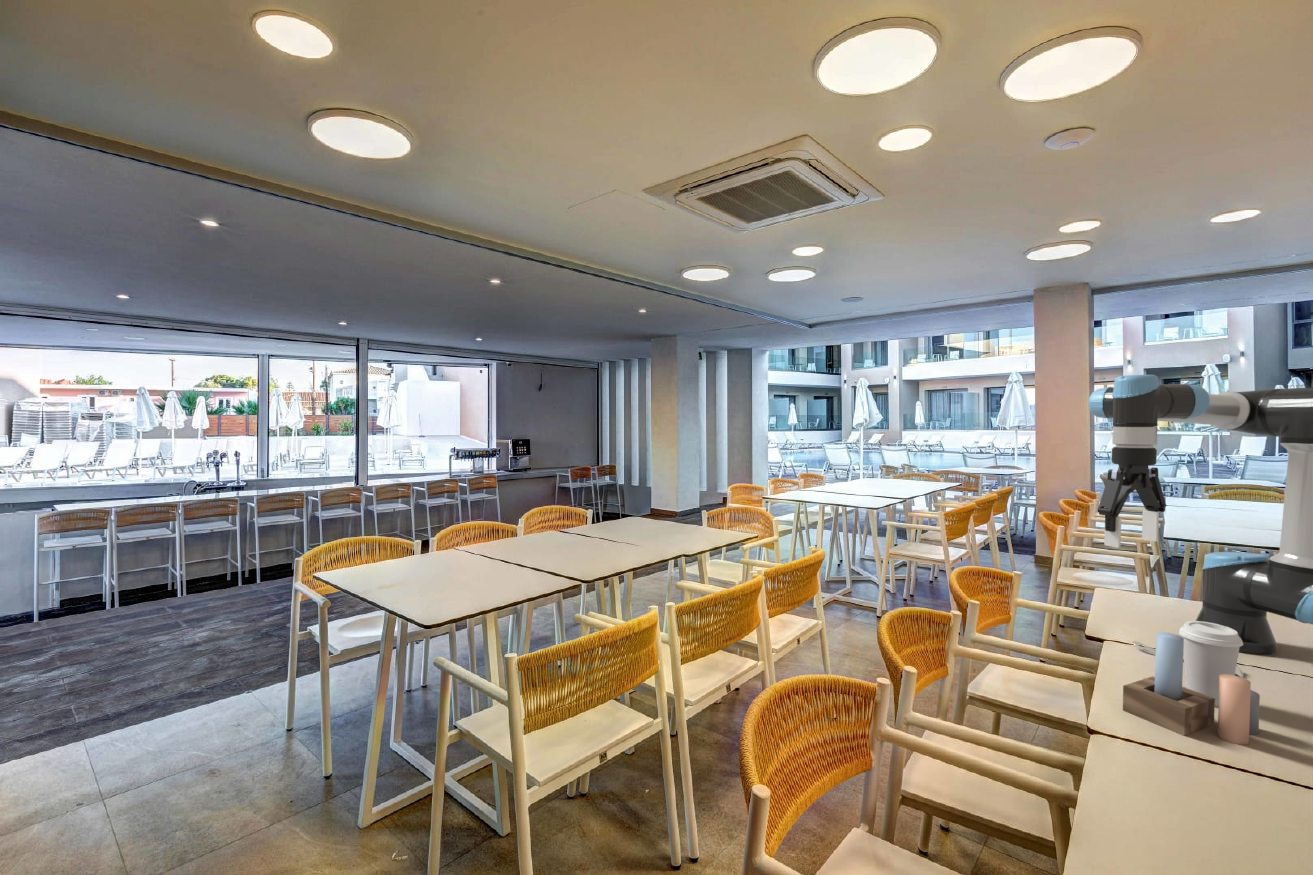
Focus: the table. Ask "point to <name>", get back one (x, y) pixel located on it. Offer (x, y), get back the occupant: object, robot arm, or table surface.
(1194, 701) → the socket block
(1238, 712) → the medium dowel
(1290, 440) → the robot arm
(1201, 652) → the coffee cup
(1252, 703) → the short dowel
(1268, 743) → the table surface
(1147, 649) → the silver metal utensil
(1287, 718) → the table surface
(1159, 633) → the tall dowel
